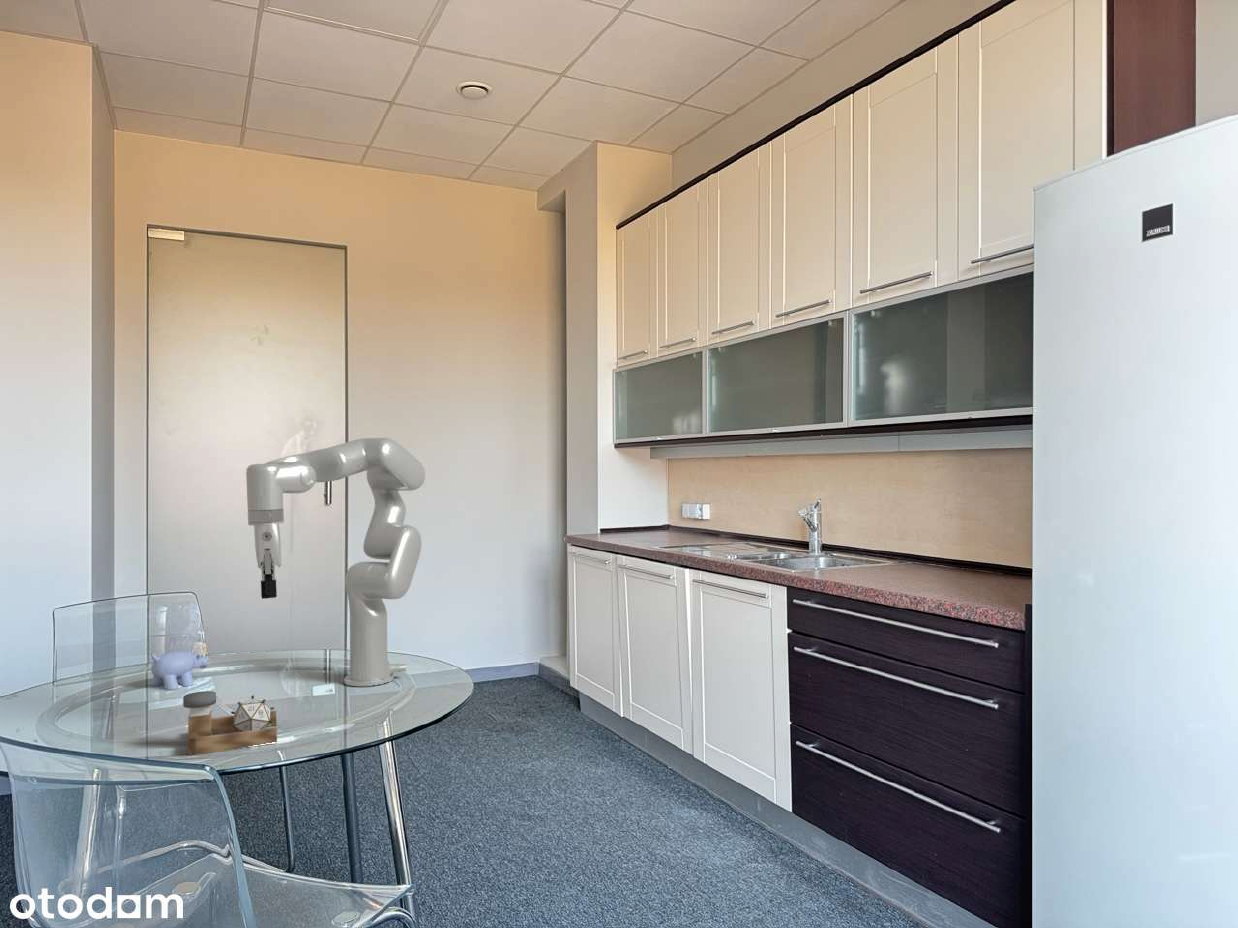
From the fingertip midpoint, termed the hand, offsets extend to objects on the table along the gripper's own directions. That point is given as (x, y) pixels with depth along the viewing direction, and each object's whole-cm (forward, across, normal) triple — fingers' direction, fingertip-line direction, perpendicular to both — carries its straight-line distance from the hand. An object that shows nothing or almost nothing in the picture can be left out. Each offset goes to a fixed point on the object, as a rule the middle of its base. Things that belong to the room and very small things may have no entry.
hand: (269, 597), depth 188 cm
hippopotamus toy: (+28, +42, +23) cm, 55 cm away
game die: (+27, -15, +4) cm, 31 cm away
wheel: (+20, -15, +14) cm, 29 cm away
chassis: (+26, -16, +8) cm, 32 cm away
